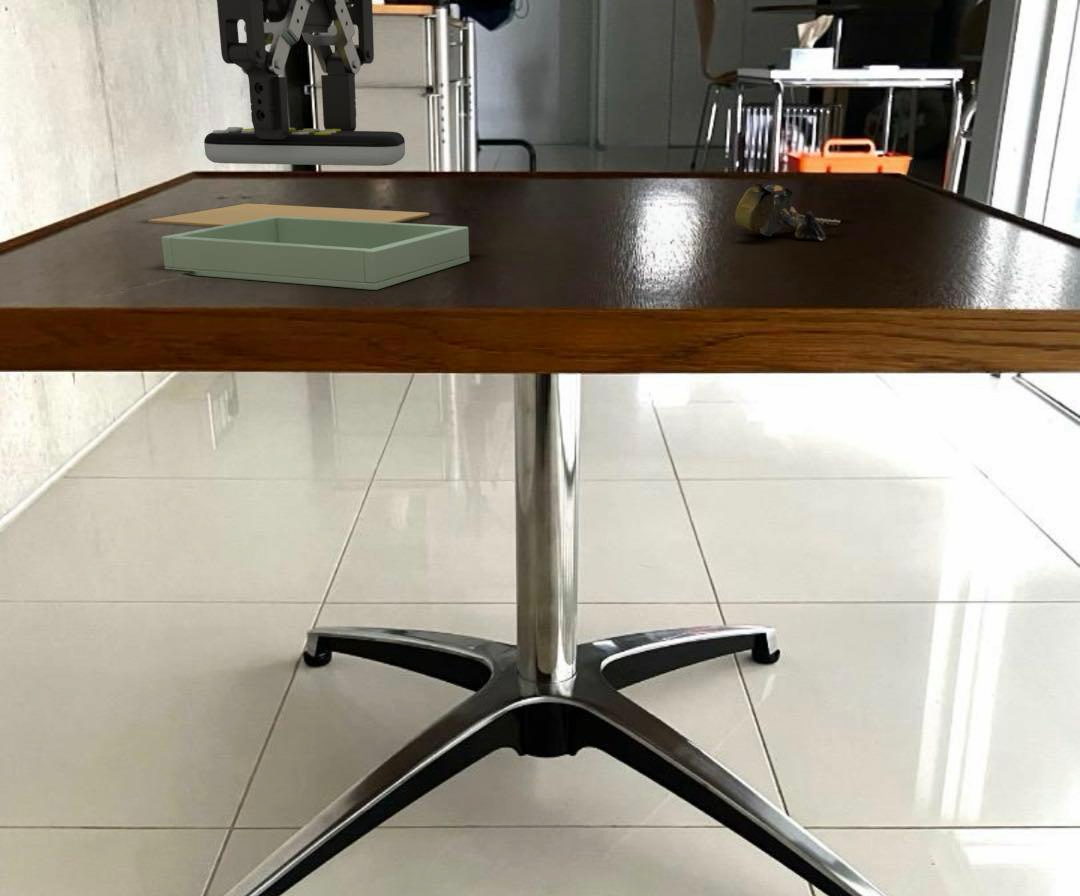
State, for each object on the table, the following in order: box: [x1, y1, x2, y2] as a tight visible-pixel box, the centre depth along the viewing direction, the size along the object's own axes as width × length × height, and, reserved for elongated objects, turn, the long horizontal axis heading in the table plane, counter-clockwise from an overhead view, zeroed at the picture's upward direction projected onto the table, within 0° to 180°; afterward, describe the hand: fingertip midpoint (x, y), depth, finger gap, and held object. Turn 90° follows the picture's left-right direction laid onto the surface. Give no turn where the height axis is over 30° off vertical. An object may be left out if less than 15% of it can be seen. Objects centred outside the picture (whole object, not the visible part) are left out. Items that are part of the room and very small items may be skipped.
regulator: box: [734, 183, 841, 242], centre depth 98 cm, size 8×4×15 cm
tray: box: [160, 216, 470, 291], centre depth 84 cm, size 17×13×2 cm
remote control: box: [203, 126, 406, 167], centre depth 81 cm, size 6×13×2 cm, turn 89°
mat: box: [147, 203, 430, 227], centre depth 108 cm, size 20×14×1 cm
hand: (307, 135), depth 81 cm, fingers closed on remote control, 7 cm apart
